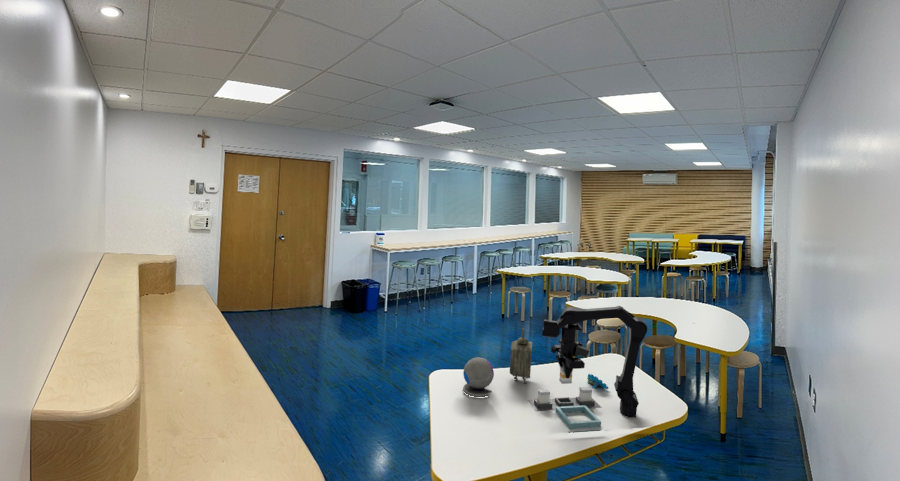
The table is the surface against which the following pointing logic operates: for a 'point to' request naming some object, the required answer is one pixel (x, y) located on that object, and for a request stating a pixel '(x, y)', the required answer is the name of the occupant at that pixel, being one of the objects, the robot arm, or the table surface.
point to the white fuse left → (543, 396)
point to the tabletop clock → (521, 358)
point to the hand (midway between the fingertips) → (565, 376)
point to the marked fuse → (564, 377)
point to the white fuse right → (585, 394)
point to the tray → (578, 424)
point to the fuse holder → (562, 403)
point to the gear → (596, 381)
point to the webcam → (478, 377)
